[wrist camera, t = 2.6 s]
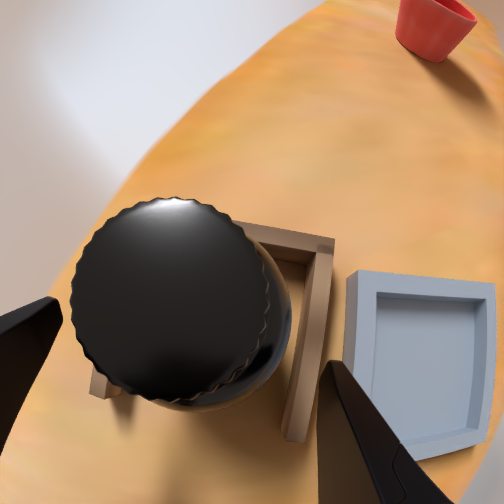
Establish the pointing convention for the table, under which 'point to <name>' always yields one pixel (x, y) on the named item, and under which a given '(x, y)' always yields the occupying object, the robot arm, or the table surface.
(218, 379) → the supplement bottle
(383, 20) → the table surface
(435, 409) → the tray
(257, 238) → the cradle
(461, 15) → the flower pot
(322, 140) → the table surface
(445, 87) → the table surface
